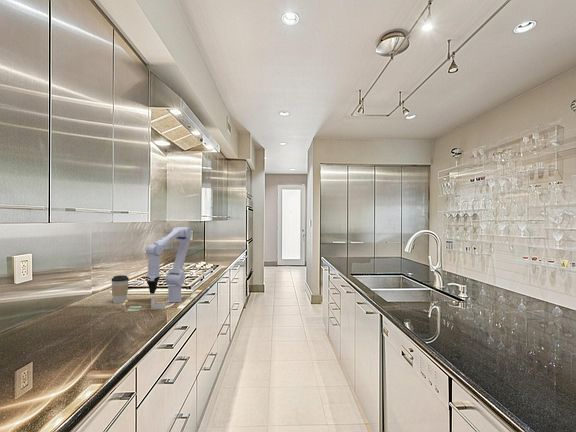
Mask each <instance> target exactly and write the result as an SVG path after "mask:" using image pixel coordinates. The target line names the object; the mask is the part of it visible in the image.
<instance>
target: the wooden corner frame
mask: <svg viewBox="0 0 576 432" xmlns="http://www.w3.org/2000/svg"><path fill="white" fill-rule="evenodd" d="M151 298H152V297H148V298H147V297H146V298H145V297H144V298H127V299H126V300H125V302H124V303H121V310H120V311H121V313H125V312H127V313H129V312H140V311H141V309H142V307H143V306H151ZM128 307H129V308H128ZM127 308H128V309H127ZM126 310H127V311H126Z"/></svg>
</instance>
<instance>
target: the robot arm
mask: <svg viewBox="0 0 576 432" xmlns="http://www.w3.org/2000/svg"><path fill="white" fill-rule="evenodd" d="M192 235H193V231H192V228H191V227H189V226H174V228H172V231H171V232H169V233H168V235H166V236H165V237H164V236H160V238H159V239H158V240H157V241H155V242H154V243H153V244H149V245H148V246H147V247H146V249H145V253H146V254H147V259H148V260H147V262H148V263H147V274H145V277H148V279H146V283H147V285H148V289H149V294H150V295H154V294H155V293H156V291H157V286H158V284H159V280H160V278H161V277H160V266H161V265H160V263H161V262H160V260H161V255H162V253H163V251H164V249H166V248H167V247H168V246H170V242H172V241H173V240H174V239H176V241H177V242H178V243H179V245H178V248H177V252H176V255H175V260H174V264H173V267H172V268H171V269H170V270H168V272H167V274H166V276H165V280H164V281H165V284H166V285H167V286H168V288H167V289H168V290H167V291H168V292H167V297H168V298H167V299H166V303H181V302H182V301H183V299H182V298H183V297H182V286H183V285H184V283H185V280H186V279H185V277H186V273H185V272H184V271H183V267H184V264H185V260H186V257H187V254H188V250H189V247H190V242H191V240H192Z"/></svg>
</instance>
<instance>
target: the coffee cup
mask: <svg viewBox="0 0 576 432" xmlns="http://www.w3.org/2000/svg"><path fill="white" fill-rule="evenodd" d="M129 280H130V278H129V276H128V275H126V274H125V275H114V276H113V277H112V278H111V295H112V303H113V304H123V303H124V302H125V300H126V299H128V291H129Z"/></svg>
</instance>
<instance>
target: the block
mask: <svg viewBox="0 0 576 432" xmlns="http://www.w3.org/2000/svg"><path fill="white" fill-rule="evenodd" d="M150 298H151V305H150V310H151V311H152V310H154V311H155V310H165V309H166V303H157V296H152V297H150Z"/></svg>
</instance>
